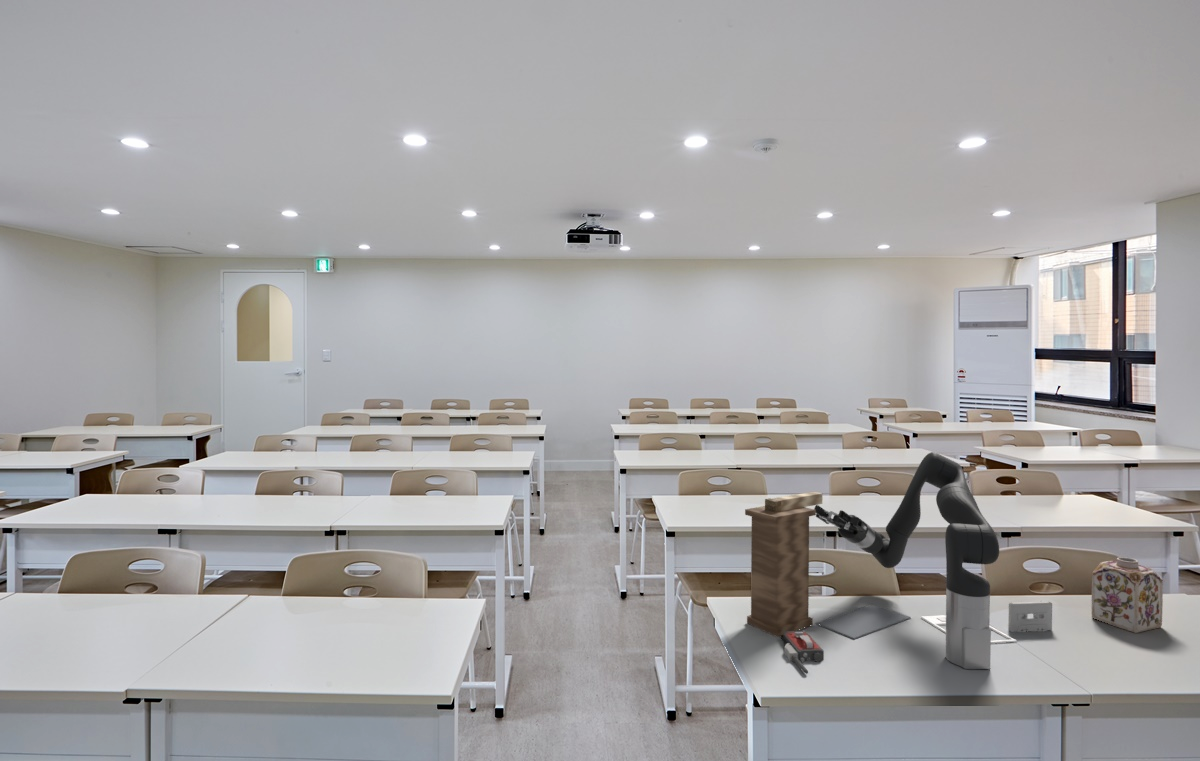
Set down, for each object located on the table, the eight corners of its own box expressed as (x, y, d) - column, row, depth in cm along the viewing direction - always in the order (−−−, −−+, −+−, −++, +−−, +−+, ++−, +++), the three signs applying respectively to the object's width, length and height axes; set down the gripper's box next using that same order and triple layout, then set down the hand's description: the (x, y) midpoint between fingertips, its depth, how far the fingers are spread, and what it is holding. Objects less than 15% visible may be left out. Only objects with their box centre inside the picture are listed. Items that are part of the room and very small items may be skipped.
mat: (853, 639, 169) (854, 638, 169) (816, 624, 179) (816, 622, 179) (910, 618, 183) (910, 616, 183) (872, 605, 193) (872, 603, 193)
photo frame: (968, 613, 185) (1016, 639, 167) (968, 617, 185) (1016, 643, 167) (921, 615, 183) (964, 642, 165) (921, 619, 183) (964, 647, 166)
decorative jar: (1163, 628, 177) (1165, 562, 176) (1137, 634, 172) (1138, 567, 172) (1115, 612, 188) (1116, 551, 187) (1089, 618, 183) (1090, 555, 183)
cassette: (1048, 628, 176) (1048, 600, 176) (1053, 631, 174) (1054, 603, 174) (1006, 630, 175) (1007, 602, 175) (1011, 632, 174) (1012, 604, 173)
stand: (775, 637, 170) (776, 517, 169) (744, 624, 179) (745, 509, 178) (814, 624, 179) (815, 509, 178) (783, 612, 188) (784, 502, 187)
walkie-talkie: (772, 641, 169) (802, 678, 149) (772, 624, 169) (802, 659, 149) (805, 640, 170) (838, 677, 150) (805, 623, 169) (838, 658, 149)
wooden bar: (776, 512, 174) (776, 501, 174) (764, 509, 178) (764, 499, 178) (823, 504, 185) (823, 493, 185) (812, 501, 189) (812, 491, 189)
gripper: (840, 515, 204) (811, 495, 196) (881, 525, 192) (852, 503, 184) (833, 538, 202) (803, 517, 194) (874, 548, 190) (844, 527, 182)
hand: (827, 510), depth 189 cm, fingers open, 8 cm apart
